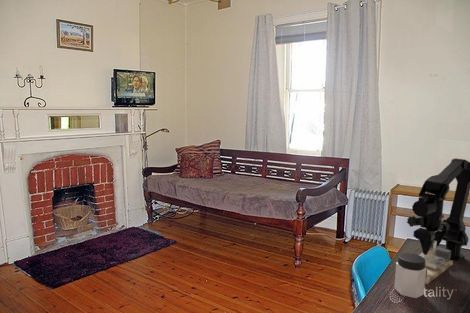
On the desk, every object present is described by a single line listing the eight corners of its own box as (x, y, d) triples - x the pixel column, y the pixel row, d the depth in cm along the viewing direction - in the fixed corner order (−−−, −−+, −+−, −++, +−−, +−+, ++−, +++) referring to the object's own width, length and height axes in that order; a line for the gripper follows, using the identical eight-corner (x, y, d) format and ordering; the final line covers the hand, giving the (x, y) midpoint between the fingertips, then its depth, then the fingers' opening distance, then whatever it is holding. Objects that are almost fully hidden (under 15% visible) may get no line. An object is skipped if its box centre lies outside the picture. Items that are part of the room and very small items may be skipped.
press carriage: (422, 256, 143) (424, 235, 142) (444, 263, 137) (446, 241, 136) (413, 262, 138) (415, 240, 136) (436, 269, 132) (438, 246, 130)
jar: (413, 301, 114) (416, 265, 112) (389, 290, 121) (392, 256, 119) (428, 293, 119) (431, 259, 117) (405, 282, 126) (407, 250, 124)
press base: (425, 256, 148) (426, 243, 147) (452, 264, 140) (453, 251, 139) (398, 273, 132) (400, 259, 131) (427, 284, 125) (428, 269, 124)
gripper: (421, 203, 146) (418, 239, 149) (400, 211, 134) (397, 251, 137) (451, 209, 138) (448, 247, 140) (432, 219, 126) (428, 260, 128)
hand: (430, 251), depth 137 cm, fingers open, 9 cm apart
